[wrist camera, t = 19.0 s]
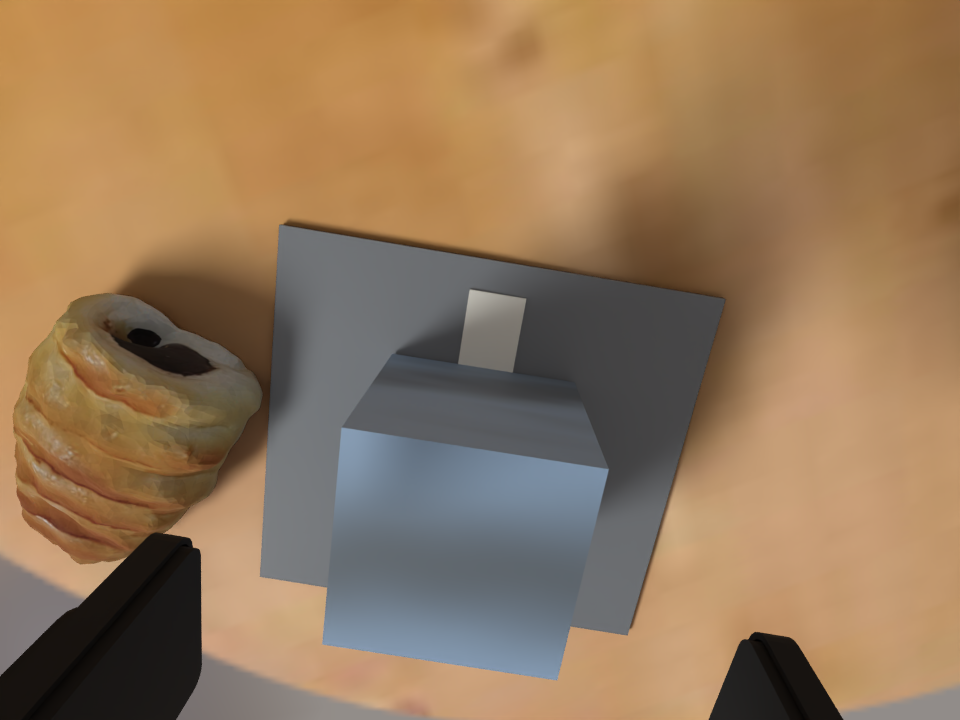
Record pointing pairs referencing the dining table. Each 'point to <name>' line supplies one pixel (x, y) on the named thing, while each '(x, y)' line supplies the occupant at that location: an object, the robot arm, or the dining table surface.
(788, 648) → the robot arm
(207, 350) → the pastry
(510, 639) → the slate blue cube
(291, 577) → the board
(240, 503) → the dining table surface
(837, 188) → the dining table surface
